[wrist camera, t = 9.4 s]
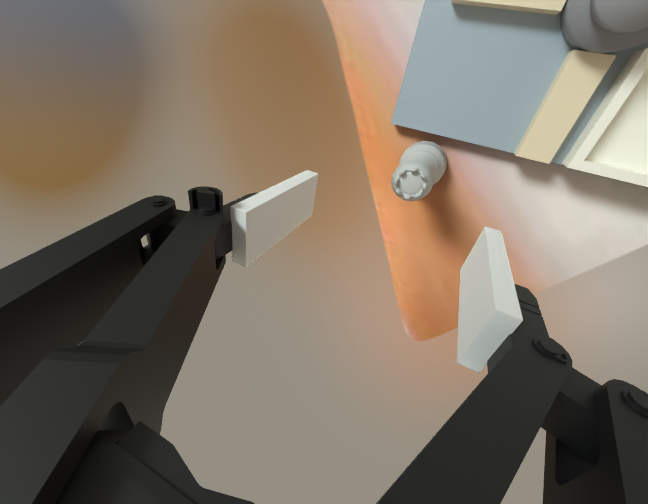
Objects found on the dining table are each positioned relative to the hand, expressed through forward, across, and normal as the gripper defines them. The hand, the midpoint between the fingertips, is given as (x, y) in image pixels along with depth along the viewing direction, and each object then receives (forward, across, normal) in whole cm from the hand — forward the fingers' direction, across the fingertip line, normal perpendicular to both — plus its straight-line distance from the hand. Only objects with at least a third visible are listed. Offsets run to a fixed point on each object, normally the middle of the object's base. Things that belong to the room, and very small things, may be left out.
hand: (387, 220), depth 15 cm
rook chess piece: (+16, 0, 0) cm, 16 cm away
